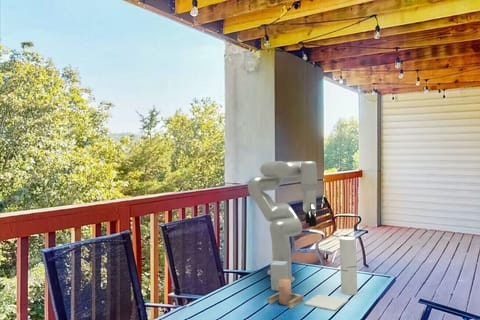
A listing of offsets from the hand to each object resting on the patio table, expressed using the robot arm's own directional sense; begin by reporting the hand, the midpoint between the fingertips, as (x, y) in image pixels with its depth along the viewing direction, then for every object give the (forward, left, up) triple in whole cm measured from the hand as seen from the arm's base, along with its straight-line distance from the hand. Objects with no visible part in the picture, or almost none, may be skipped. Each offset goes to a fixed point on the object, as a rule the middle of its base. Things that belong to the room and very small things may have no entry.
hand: (310, 224), depth 183 cm
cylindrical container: (+14, +10, -32) cm, 36 cm away
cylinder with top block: (-4, -17, -32) cm, 36 cm away
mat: (+11, -8, -32) cm, 34 cm away
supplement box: (-16, -2, -32) cm, 36 cm away
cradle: (-4, -17, -32) cm, 37 cm away
